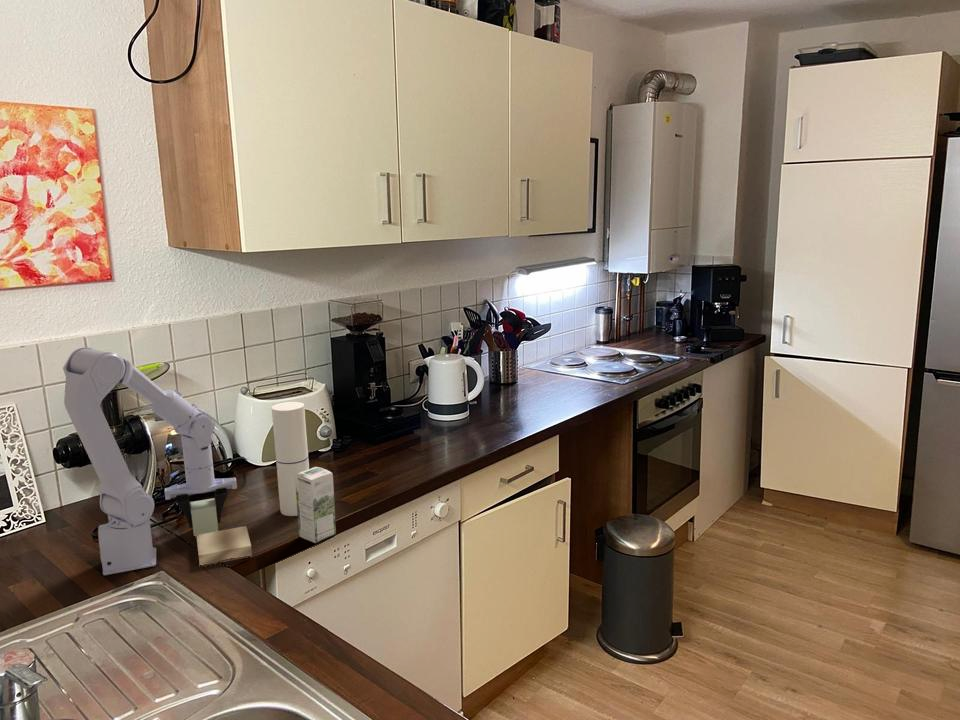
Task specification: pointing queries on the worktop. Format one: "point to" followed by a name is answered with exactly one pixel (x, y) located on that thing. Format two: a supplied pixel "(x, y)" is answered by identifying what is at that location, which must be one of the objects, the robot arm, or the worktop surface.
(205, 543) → the birch base
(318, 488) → the syrup box
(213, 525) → the sage block
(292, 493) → the cylindrical container
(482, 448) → the worktop surface
